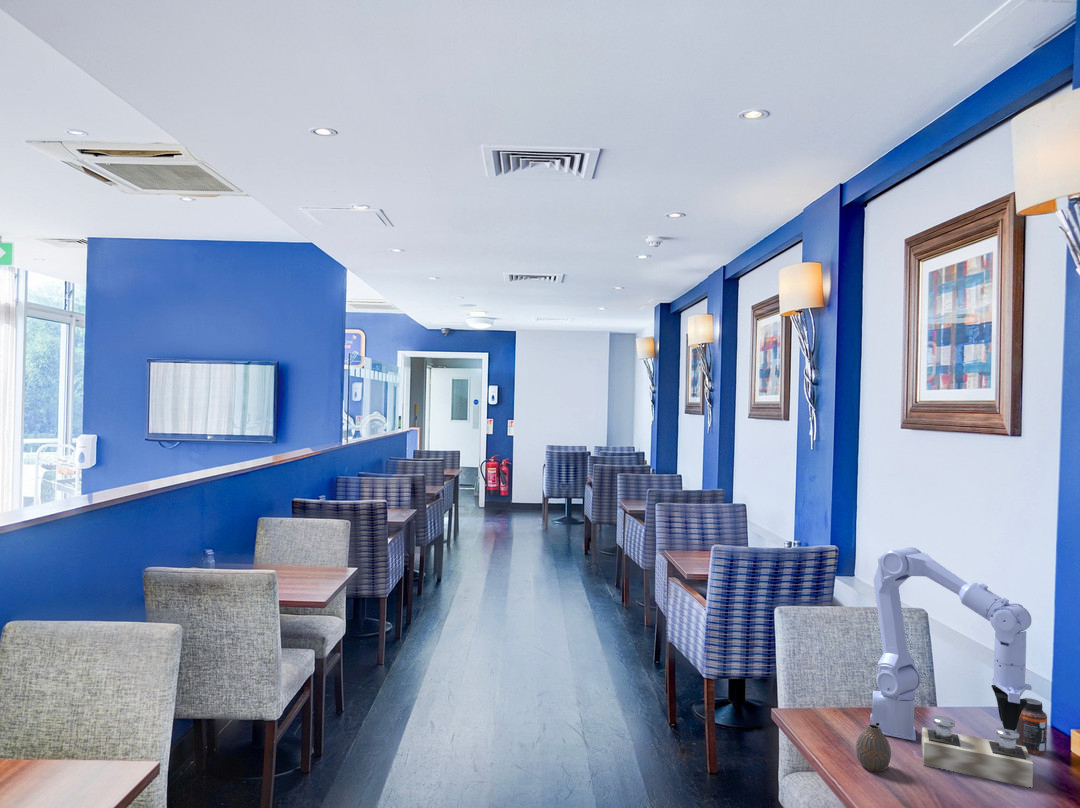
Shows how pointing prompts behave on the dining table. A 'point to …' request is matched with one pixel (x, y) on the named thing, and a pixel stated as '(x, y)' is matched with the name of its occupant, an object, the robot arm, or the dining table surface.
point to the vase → (873, 749)
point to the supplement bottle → (1032, 727)
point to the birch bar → (977, 758)
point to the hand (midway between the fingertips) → (1007, 725)
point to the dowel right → (1007, 740)
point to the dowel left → (943, 727)
